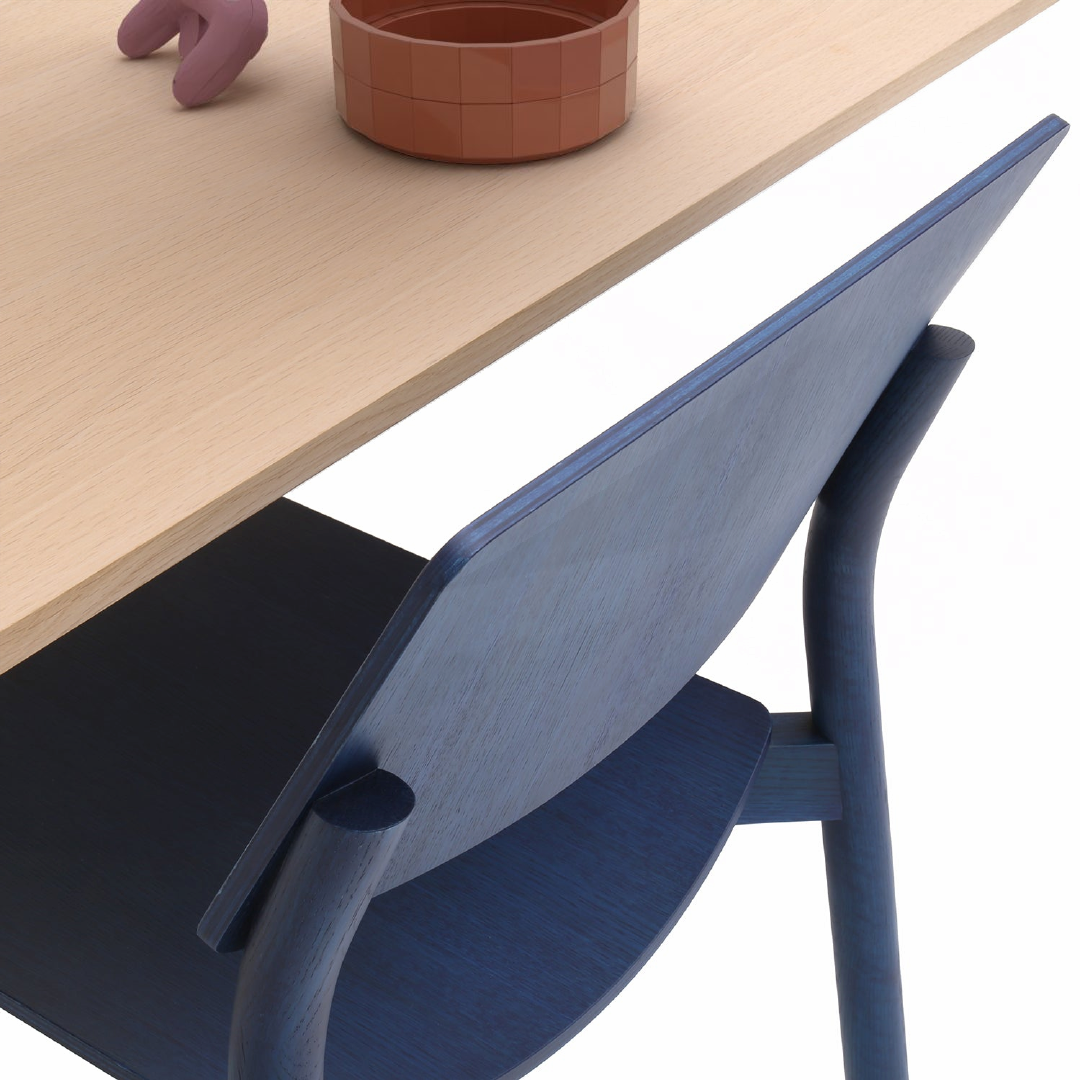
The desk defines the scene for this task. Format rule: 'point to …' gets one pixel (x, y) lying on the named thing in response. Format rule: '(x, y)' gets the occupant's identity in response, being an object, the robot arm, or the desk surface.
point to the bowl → (484, 75)
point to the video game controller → (198, 40)
